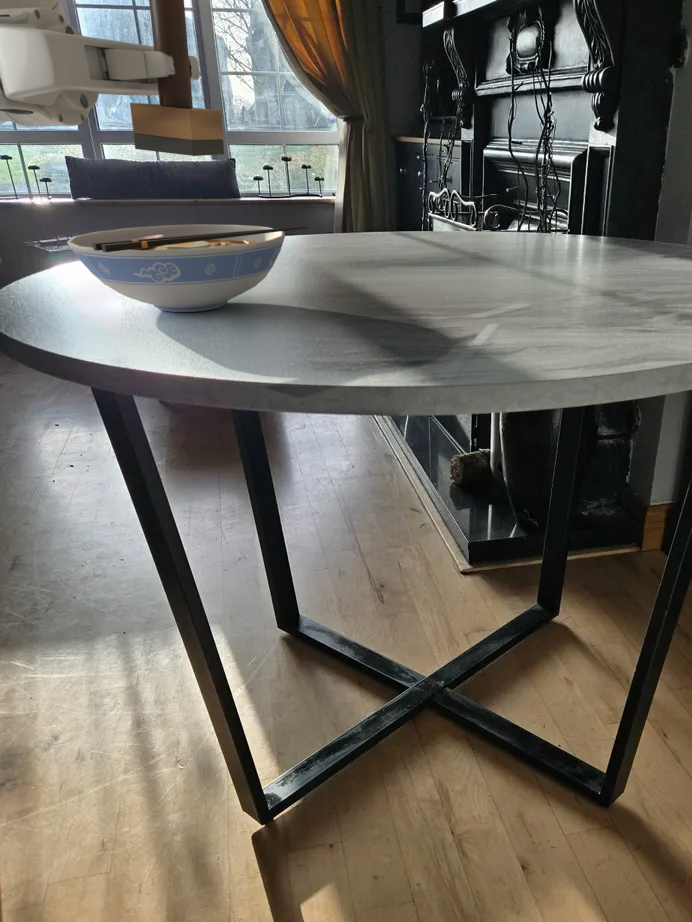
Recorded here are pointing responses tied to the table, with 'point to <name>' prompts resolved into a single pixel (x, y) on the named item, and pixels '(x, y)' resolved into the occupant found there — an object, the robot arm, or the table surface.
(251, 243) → the ramen bowl
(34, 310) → the table surface
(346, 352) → the table surface
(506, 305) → the table surface
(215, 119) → the brush
